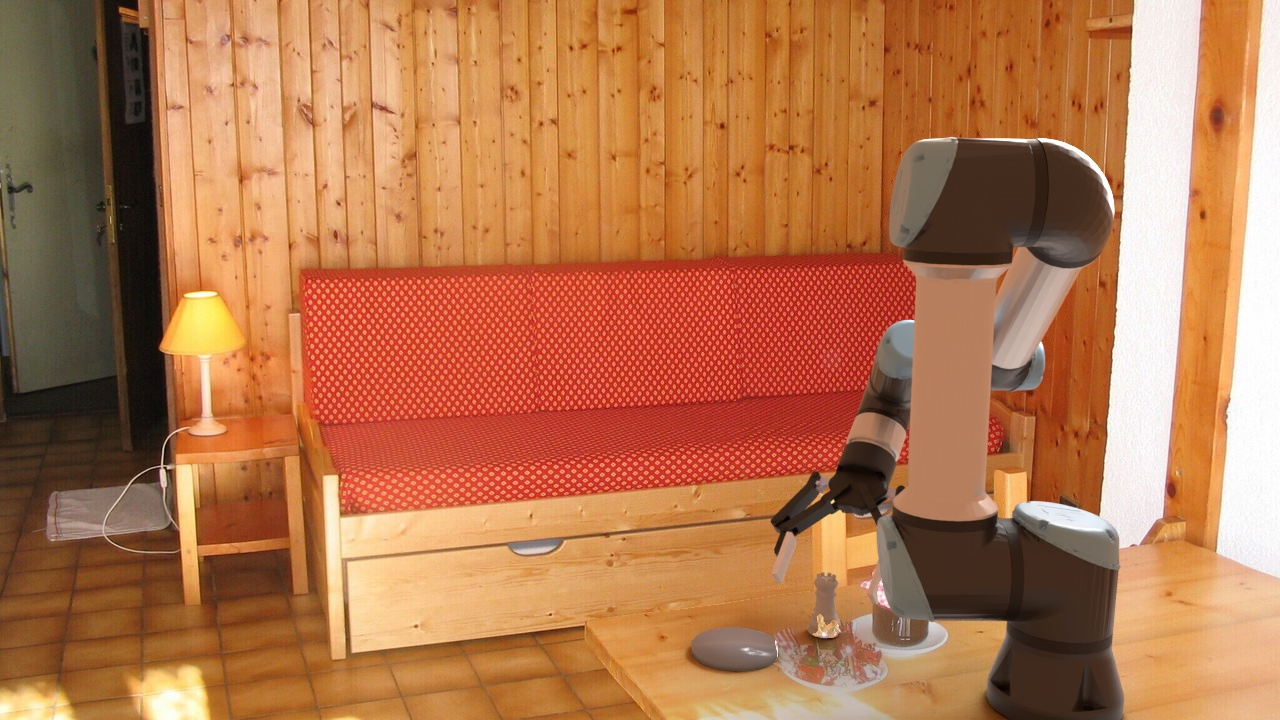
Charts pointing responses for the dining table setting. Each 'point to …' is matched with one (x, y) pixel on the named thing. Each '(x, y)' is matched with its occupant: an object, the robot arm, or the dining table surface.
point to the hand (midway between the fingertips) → (823, 589)
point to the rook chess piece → (824, 601)
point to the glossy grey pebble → (734, 649)
